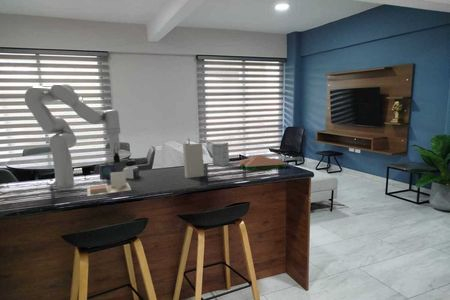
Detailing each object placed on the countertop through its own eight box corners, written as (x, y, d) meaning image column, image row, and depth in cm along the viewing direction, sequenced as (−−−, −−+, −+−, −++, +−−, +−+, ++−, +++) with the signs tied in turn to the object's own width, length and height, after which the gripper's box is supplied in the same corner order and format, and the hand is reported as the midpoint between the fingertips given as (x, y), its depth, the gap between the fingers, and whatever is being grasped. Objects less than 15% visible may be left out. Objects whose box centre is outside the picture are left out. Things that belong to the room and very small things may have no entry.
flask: (99, 179, 194) (98, 163, 193) (100, 178, 197) (98, 162, 196) (115, 177, 197) (113, 161, 196) (115, 177, 200) (113, 161, 199)
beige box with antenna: (204, 176, 195) (202, 137, 191) (186, 178, 191) (184, 138, 187) (200, 174, 202) (198, 136, 198) (183, 176, 198) (181, 137, 194)
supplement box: (229, 164, 230) (228, 142, 228) (223, 166, 223) (222, 144, 220) (219, 163, 235) (218, 142, 233) (212, 165, 228) (211, 143, 225)
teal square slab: (90, 190, 166) (90, 193, 159) (89, 186, 165) (90, 190, 158) (105, 187, 169) (106, 191, 162) (105, 184, 169) (106, 187, 161)
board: (87, 197, 155) (87, 196, 154) (87, 189, 171) (87, 187, 171) (131, 191, 163) (131, 189, 163) (127, 184, 180) (127, 182, 180)
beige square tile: (111, 187, 170) (110, 173, 169) (111, 186, 172) (109, 172, 171) (126, 185, 173) (125, 171, 172) (125, 184, 175) (124, 171, 174)
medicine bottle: (134, 180, 190) (132, 161, 188) (123, 179, 191) (122, 161, 189) (139, 177, 197) (138, 159, 195) (129, 177, 198) (127, 159, 196)
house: (235, 165, 227) (234, 154, 226) (276, 162, 233) (276, 152, 232) (242, 171, 205) (242, 160, 203) (288, 168, 211) (288, 157, 209)
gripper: (105, 131, 179) (109, 161, 182) (107, 132, 165) (111, 165, 168) (119, 130, 182) (122, 159, 185) (121, 131, 168) (125, 163, 171)
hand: (117, 162), depth 176 cm, fingers closed
